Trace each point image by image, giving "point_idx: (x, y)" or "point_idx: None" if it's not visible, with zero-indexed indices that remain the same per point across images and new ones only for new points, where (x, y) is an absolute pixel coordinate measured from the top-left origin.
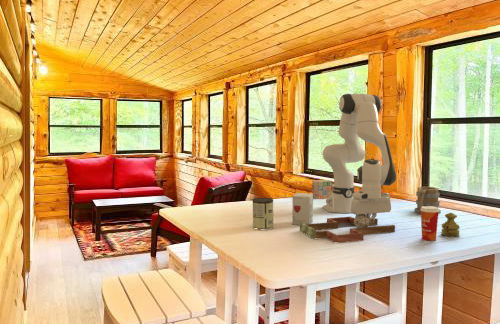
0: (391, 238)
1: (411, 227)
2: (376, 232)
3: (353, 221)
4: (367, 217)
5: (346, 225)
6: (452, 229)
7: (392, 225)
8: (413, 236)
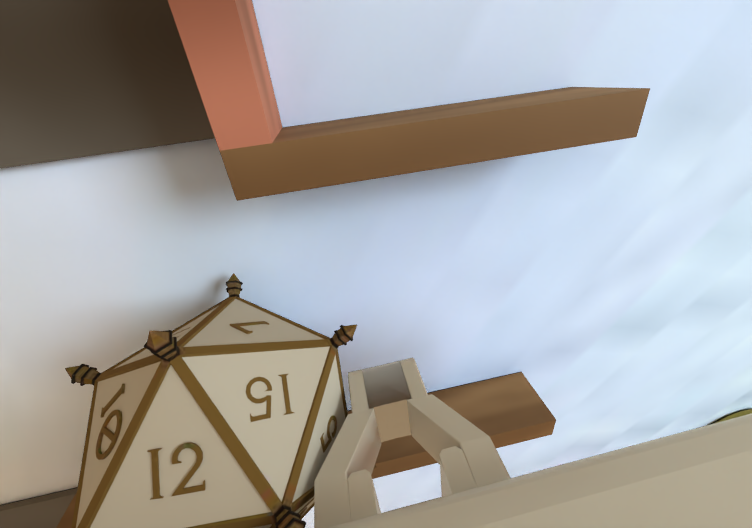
0: (390, 501)
1: (741, 282)
2: None
3: (92, 400)
4: (309, 503)
5: (37, 100)
6: None
7: (528, 438)
8: (537, 465)
